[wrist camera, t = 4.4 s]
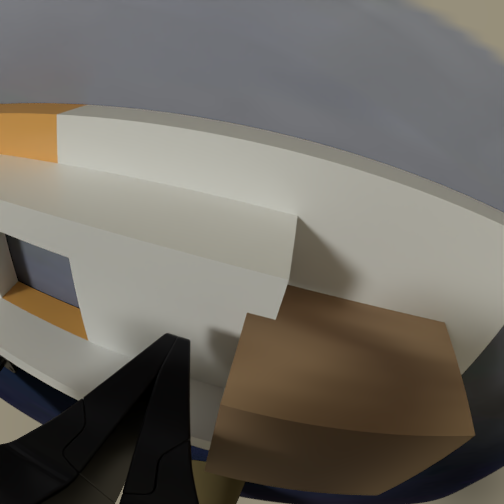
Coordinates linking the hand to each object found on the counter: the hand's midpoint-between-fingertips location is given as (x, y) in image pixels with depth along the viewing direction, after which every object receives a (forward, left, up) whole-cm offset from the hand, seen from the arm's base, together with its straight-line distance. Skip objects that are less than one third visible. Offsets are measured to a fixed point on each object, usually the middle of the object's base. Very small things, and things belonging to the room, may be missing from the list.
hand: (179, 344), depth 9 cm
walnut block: (0, -5, -1) cm, 5 cm away
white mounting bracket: (0, +1, -3) cm, 3 cm away
